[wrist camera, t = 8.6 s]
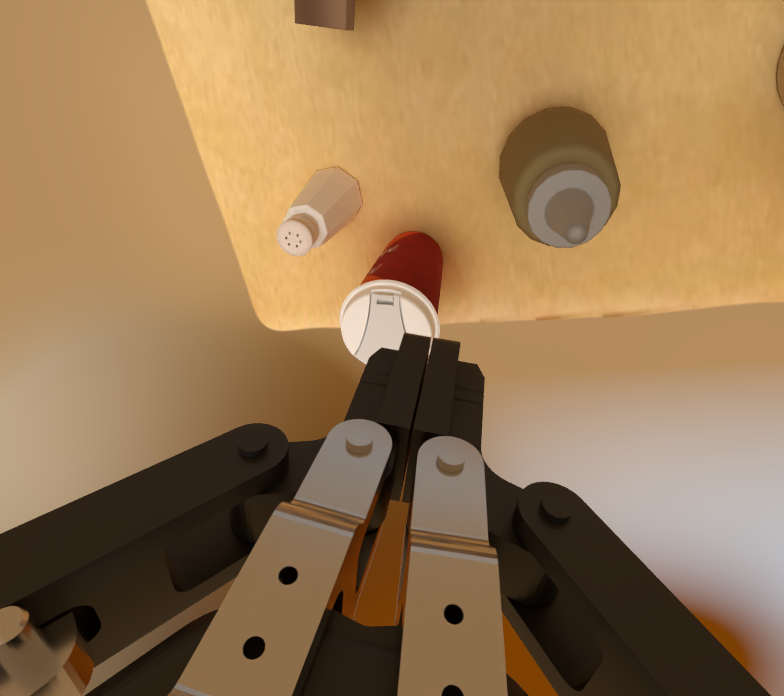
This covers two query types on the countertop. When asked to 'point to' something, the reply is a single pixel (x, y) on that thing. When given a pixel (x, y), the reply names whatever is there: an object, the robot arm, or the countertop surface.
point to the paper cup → (395, 297)
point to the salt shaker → (319, 211)
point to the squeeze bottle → (560, 177)
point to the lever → (326, 13)
